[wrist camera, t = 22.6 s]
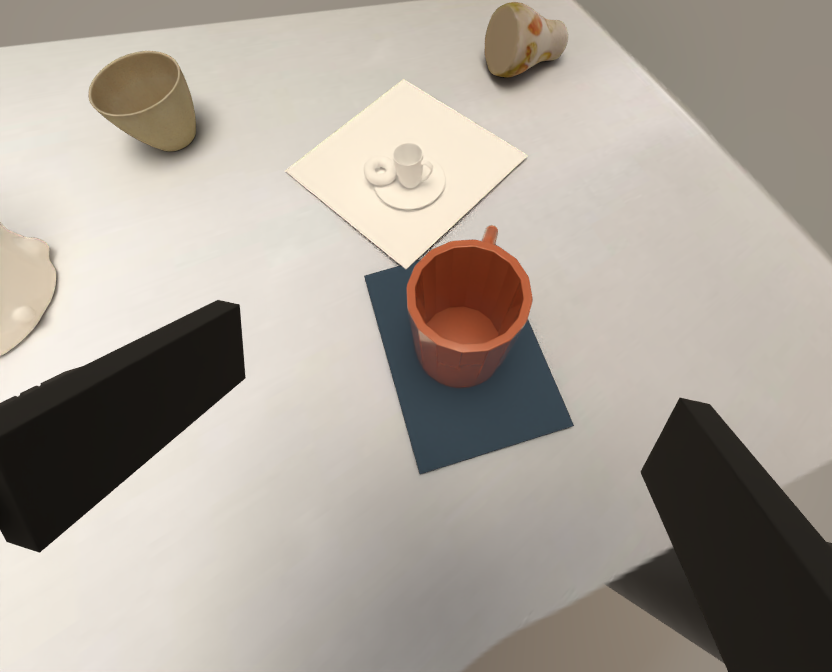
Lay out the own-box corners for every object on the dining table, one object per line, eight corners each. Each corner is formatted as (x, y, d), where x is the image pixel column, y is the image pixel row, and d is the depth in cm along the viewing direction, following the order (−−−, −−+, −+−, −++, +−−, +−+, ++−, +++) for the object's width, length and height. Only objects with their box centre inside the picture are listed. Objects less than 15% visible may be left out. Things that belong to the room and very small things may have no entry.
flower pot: (231, 130, 48) (197, 74, 41) (168, 181, 46) (121, 130, 39) (183, 95, 51) (144, 37, 44) (121, 142, 48) (69, 88, 42)
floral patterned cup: (577, 69, 49) (574, 11, 40) (504, 110, 53) (486, 67, 44) (558, 18, 49) (550, -51, 40) (487, 62, 53) (466, 9, 44)
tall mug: (490, 400, 34) (513, 369, 24) (402, 371, 36) (388, 329, 25) (522, 291, 38) (554, 223, 27) (441, 268, 39) (442, 194, 29)
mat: (572, 426, 34) (574, 425, 33) (420, 474, 33) (419, 474, 33) (492, 241, 41) (493, 238, 40) (365, 278, 40) (364, 275, 39)
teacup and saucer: (355, 182, 44) (347, 154, 40) (404, 142, 45) (401, 111, 42) (410, 224, 41) (407, 198, 37) (460, 180, 43) (462, 150, 39)
